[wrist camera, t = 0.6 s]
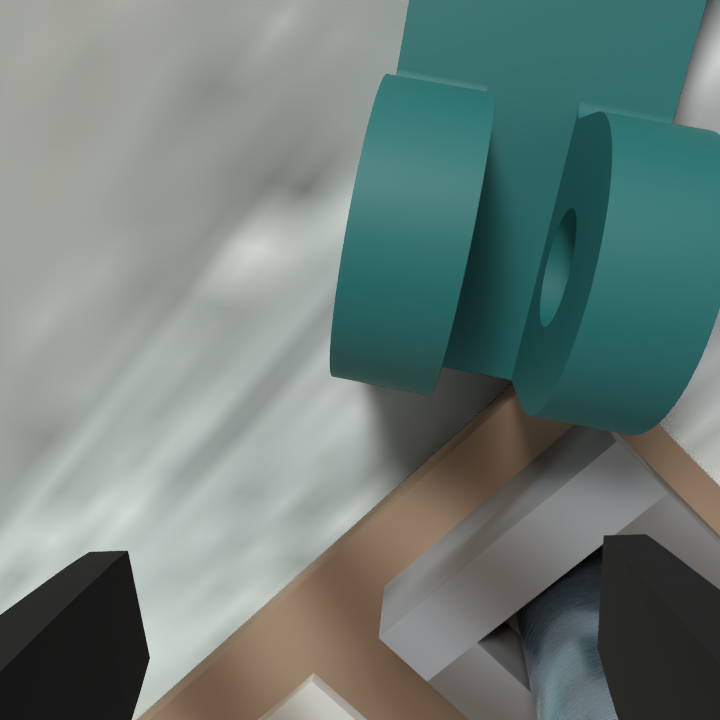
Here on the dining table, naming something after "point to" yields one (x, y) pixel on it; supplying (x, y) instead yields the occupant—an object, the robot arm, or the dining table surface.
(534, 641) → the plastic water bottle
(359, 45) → the dining table surface
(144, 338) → the dining table surface
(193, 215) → the dining table surface
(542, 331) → the bracket
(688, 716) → the robot arm
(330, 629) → the housing plate
